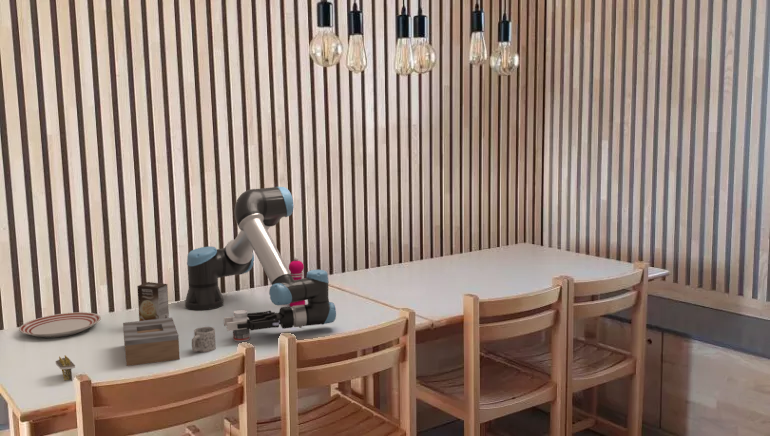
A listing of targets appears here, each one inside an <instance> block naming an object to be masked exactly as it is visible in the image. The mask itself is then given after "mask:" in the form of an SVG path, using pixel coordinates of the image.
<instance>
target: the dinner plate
mask: <svg viewBox="0 0 770 436" xmlns="http://www.w3.org/2000/svg"><path fill="white" fill-rule="evenodd" d="M101 318H102V317H101V315H100V314H98V313H94V312H85V311H84V312H83V311H79V312H78V311H77V312H66V313H56V314H51V315H47V316H42V317H39V318H35V319H32V320H29V321H27V322H25V323H23V324H22V325H20V326H19V329H18V331H19V333H20V334H24V335H29V336H34V337H39V338H62V337H67V336H73V335H76V334H79V333H81V332H84V331H86V330H87V329H90V328H91V327H93V326H95V325H97V324H98V323H99V322H100V321H101Z"/></svg>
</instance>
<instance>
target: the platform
mask: <svg viewBox="0 0 770 436" xmlns="http://www.w3.org/2000/svg"><path fill="white" fill-rule="evenodd" d="M58 358H59V359H57V360H55V365H56V366H57V367H58V368H59V369H60V370H61V373H62V376H63V380H64V381H69V380H70V381H71V382H73V375H72V374H73V373H72V369H76V365H75V364H74V362H72V360H71V359H70V358H69V357H68V356H67V355H64V357H61V356H59V357H58Z"/></svg>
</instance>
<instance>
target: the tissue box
mask: <svg viewBox="0 0 770 436" xmlns="http://www.w3.org/2000/svg"><path fill="white" fill-rule="evenodd" d="M122 325H123V339H124V341H123V342H124V345H123V346H124V352H125V361H126V362H125V363H126V366H136V365H145V364H152V363H160V362H161V363H162V362H169V361H177V360H178V361H179V360H180V343H179V342H180V341H179V338H180V337H179V333H178V331H177V328H176V324H175V322H174V319H173V317H169V318H163V319H153V320H144V321H139V320H137V321H128V322H126V321H125V322H122Z"/></svg>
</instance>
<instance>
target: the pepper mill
mask: <svg viewBox="0 0 770 436" xmlns="http://www.w3.org/2000/svg"><path fill="white" fill-rule="evenodd" d="M288 270H289V272H290V274H291V276H292V278H293V279H294V280H298V279H303V276H304V275H303V274H304V273H303V271H304V270H305V265H304V263H303V262H302V261H301V260H299V257H298V256H294V258H293V260H292V261H291V262H290V263H289V264H288ZM297 305H306V300H303V301H298V302H294V303H290V304H289V306H290V307H292V306H297Z"/></svg>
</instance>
